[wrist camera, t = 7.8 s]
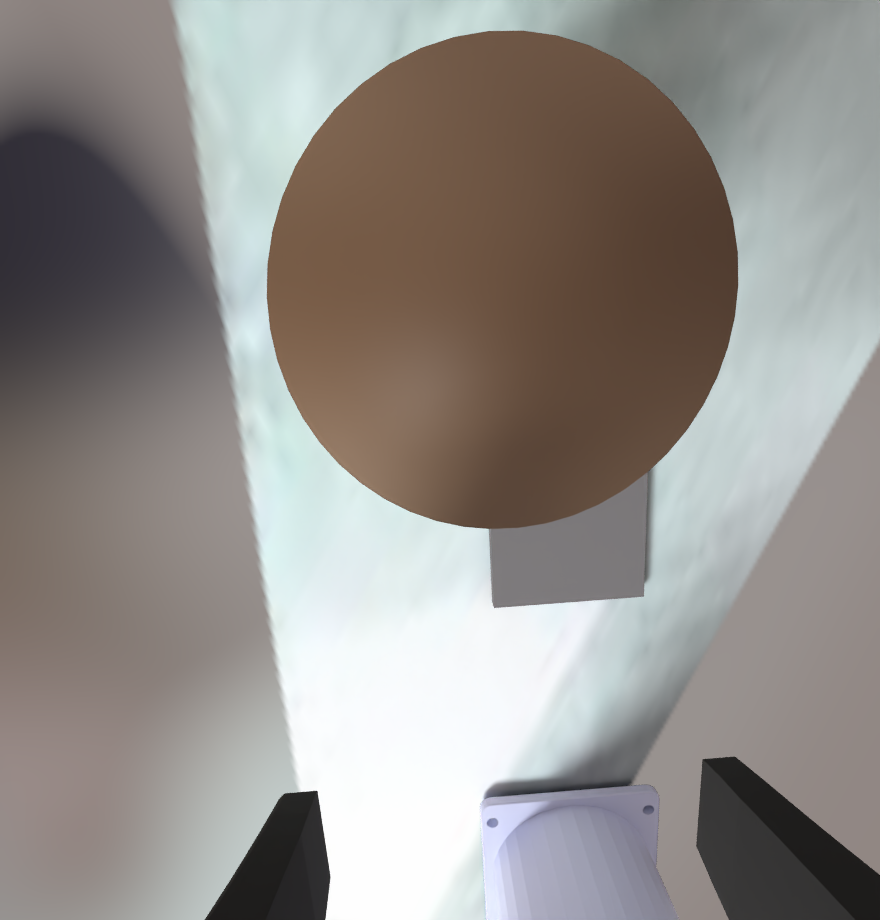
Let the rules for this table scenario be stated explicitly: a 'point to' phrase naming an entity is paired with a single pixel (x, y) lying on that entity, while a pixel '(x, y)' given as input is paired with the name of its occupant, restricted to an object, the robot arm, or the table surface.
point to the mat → (574, 555)
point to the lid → (502, 279)
